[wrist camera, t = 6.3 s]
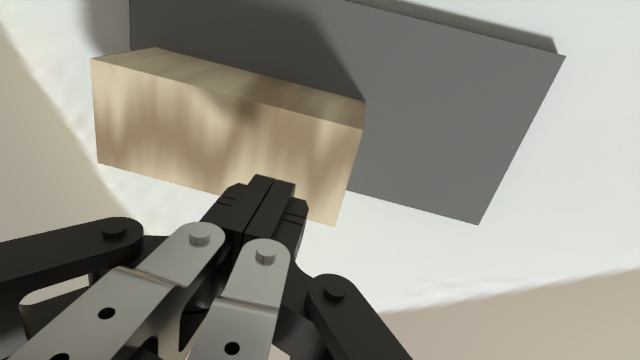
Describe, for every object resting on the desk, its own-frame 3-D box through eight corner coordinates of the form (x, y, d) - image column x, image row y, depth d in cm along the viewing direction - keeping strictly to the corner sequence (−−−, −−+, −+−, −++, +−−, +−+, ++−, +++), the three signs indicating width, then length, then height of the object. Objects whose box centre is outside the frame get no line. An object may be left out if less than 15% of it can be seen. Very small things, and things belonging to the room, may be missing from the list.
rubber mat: (137, -52, 18) (128, -55, 18) (558, 54, 18) (566, 56, 17) (140, 128, 23) (132, 132, 22) (474, 218, 22) (478, 225, 21)
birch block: (366, 101, 19) (155, 47, 20) (363, 129, 15) (89, 58, 15) (343, 181, 21) (154, 131, 22) (334, 226, 17) (97, 162, 17)
